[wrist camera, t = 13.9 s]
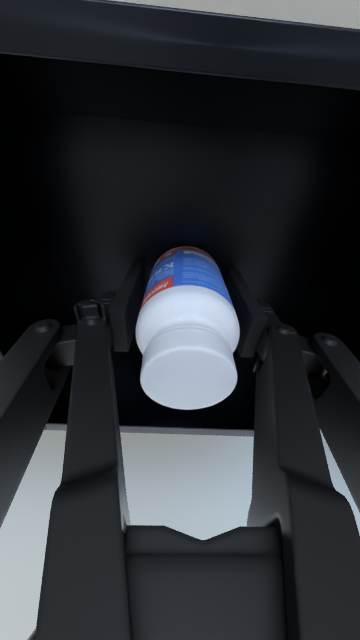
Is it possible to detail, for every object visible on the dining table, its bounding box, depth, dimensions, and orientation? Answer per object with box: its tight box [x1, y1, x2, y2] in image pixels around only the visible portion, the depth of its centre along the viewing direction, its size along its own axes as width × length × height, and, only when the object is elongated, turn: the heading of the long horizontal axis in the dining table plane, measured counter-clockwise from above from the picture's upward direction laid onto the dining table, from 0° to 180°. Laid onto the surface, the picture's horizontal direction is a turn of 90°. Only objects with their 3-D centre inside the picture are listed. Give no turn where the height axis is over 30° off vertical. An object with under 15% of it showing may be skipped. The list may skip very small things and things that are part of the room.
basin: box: [0, 0, 360, 436], centre depth 14 cm, size 22×20×8 cm
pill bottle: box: [136, 246, 240, 410], centre depth 12 cm, size 6×5×10 cm
